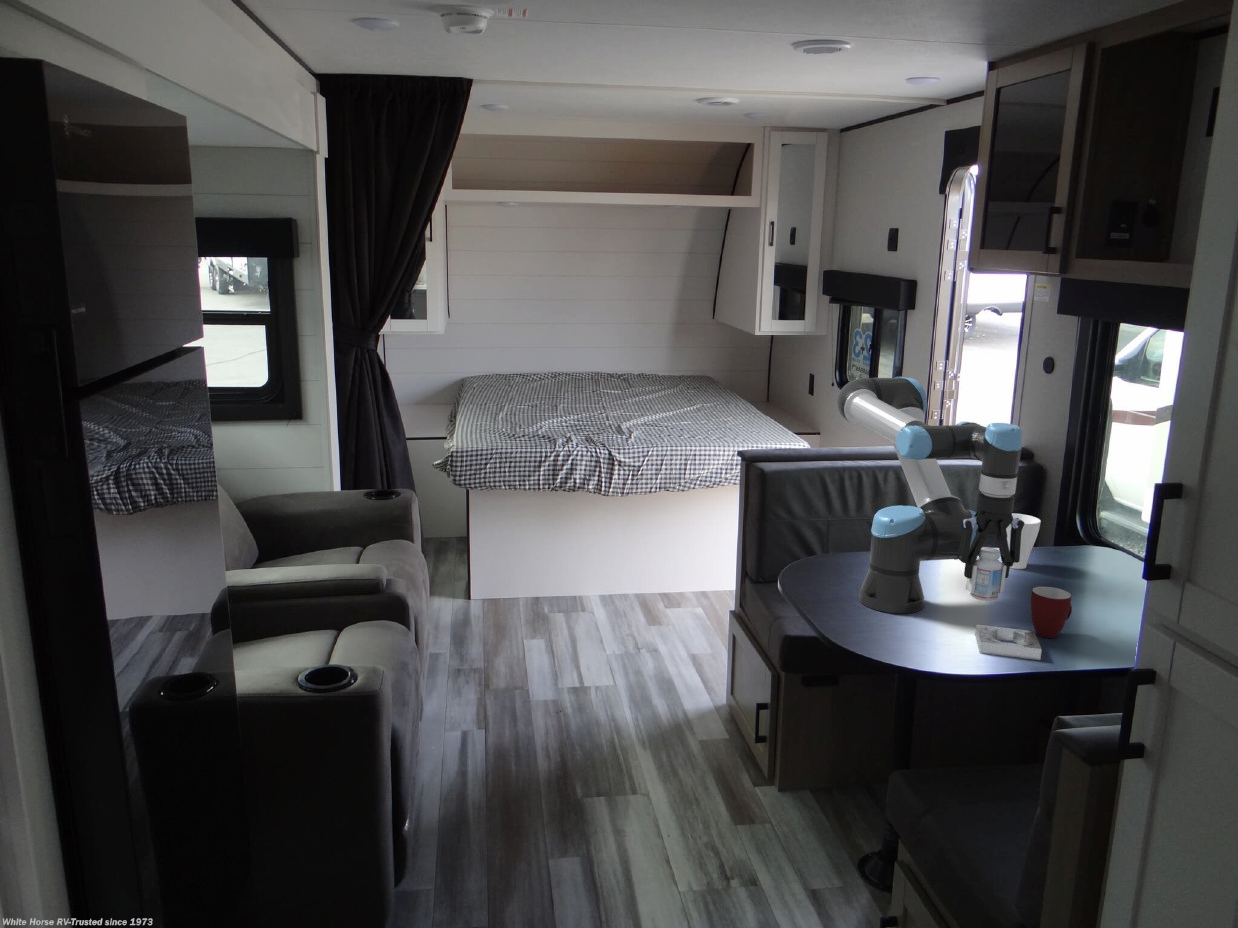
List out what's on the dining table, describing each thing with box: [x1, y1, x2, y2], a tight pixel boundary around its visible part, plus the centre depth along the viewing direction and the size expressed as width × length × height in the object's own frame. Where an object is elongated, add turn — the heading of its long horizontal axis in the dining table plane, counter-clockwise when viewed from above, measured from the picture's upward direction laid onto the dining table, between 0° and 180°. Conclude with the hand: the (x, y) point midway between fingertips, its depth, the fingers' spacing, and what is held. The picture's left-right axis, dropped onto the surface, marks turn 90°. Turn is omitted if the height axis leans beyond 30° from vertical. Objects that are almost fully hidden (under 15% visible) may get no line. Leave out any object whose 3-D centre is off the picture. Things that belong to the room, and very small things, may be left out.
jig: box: [974, 624, 1042, 661], centre depth 200 cm, size 12×10×2 cm
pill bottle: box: [969, 546, 1002, 602], centre depth 209 cm, size 6×6×11 cm
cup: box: [1006, 512, 1042, 570], centre depth 253 cm, size 10×10×14 cm
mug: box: [1030, 586, 1073, 639], centre depth 207 cm, size 11×8×10 cm
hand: (984, 590), depth 210 cm, fingers closed on pill bottle, 6 cm apart
